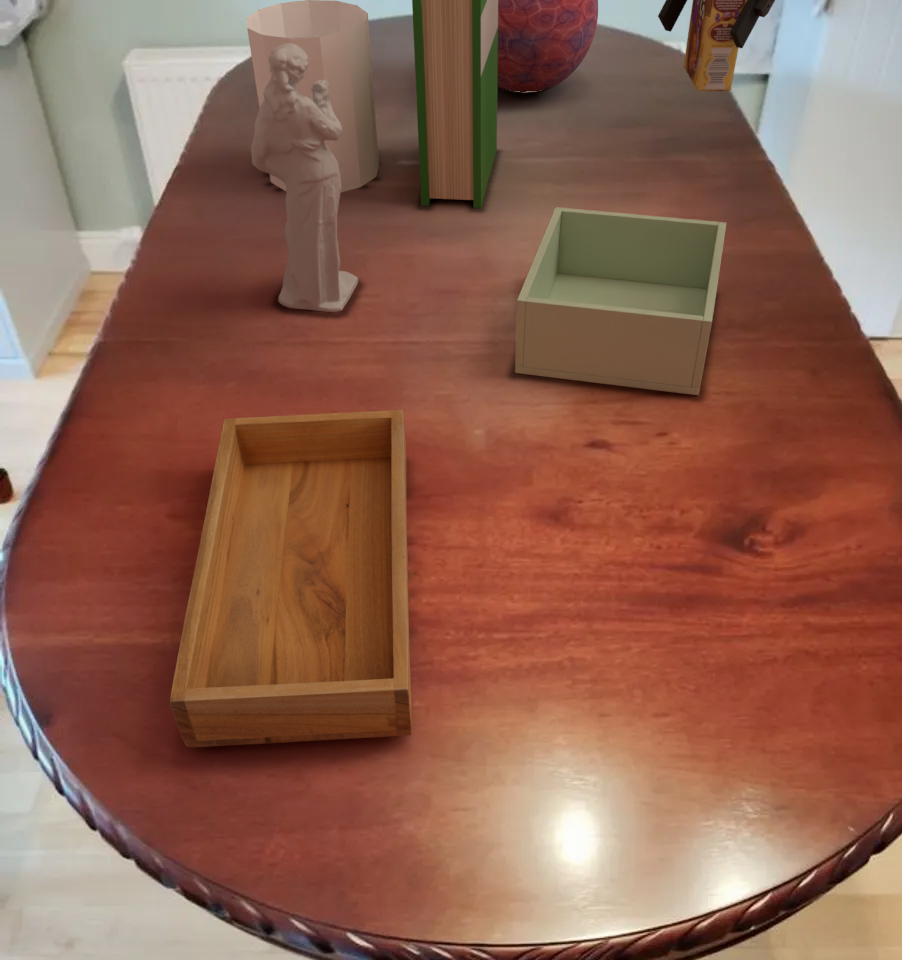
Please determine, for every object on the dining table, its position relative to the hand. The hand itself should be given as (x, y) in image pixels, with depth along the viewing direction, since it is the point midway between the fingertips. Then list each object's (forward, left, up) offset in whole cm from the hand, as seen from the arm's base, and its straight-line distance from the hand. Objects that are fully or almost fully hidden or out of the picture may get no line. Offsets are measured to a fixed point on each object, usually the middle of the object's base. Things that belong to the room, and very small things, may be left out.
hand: (699, 31), depth 112 cm
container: (+46, +4, -18) cm, 49 cm away
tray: (+21, +77, -18) cm, 82 cm away
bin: (+3, +35, -18) cm, 39 cm away
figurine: (+36, +34, -18) cm, 52 cm away
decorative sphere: (+26, -30, -18) cm, 43 cm away
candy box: (-2, -3, -6) cm, 7 cm away
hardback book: (+28, +2, -18) cm, 33 cm away
